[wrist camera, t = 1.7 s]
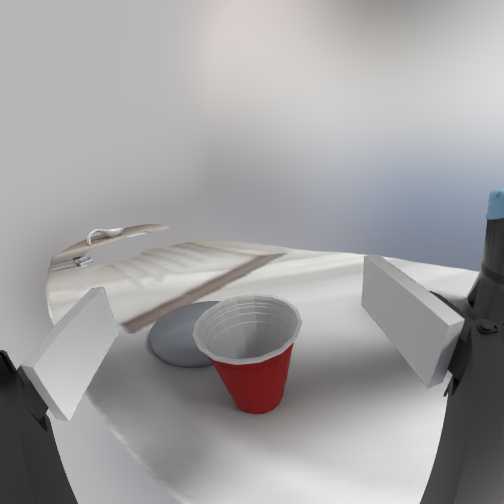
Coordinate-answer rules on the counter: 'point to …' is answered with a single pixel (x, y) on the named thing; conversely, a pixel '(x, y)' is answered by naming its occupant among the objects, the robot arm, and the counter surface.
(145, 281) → the counter surface
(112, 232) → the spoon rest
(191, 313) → the gray round coaster
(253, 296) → the plastic cup
